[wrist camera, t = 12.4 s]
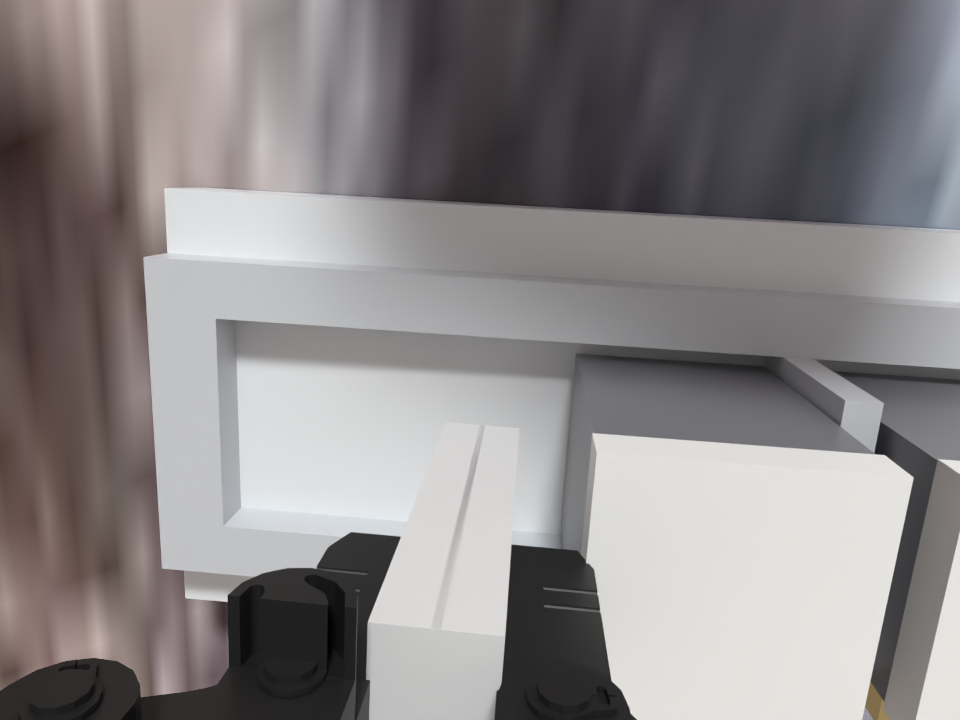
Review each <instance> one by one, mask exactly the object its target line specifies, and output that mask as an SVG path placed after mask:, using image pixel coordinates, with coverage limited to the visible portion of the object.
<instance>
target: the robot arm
mask: <svg viewBox="0 0 960 720" xmlns="http://www.w3.org/2000/svg"><path fill="white" fill-rule="evenodd" d="M518 441H519V428H510V427H498V426H485V425H474V424H462V423H450V422H446V424H445V426H444V429H443V431H442V434H441V436H440V439H439V442H438V444H437V447H436V449H435V452H434V454H433V457H432V459H431V462H430V465H429V467H428V470H427V472H426V475H425V477H424V480H423V482H422V485H421V487H420V490H419V493H418V495H417V498H416V500H415V503H414V505H413V508H412V510H411V513H410V516H409V518H408V521H407V523H406V526H405V528H404V531H403V533H402V536H401V537H400V536H389V535H379V534H368V533H357V532H350V533H349V534H347V535H346V536H344V537H343V538H341V539H340V540H338V541H336V542H335V543H333V544H332V545H330V546H329V547H328V548H327V550H326V551H325V553H324V555H323V556H322V558H321V560H320V562H319V563H318V565H317V568H316V569H315V568H286V569H281V570H276V571H271V572H266V573H262V574H260V575H258V576H256V577H253V578H251V579H249V580H247V581H244V582H242V583H241V584H240V585H239V586H238V587H236V588H235V589H234V590H233V591H232V592H231V593H229V594H228V595H227V596H228V638H229V668H228V669H227V671H226V672H225V674H224V675H223V677H222V679H221V680H220V682H219V683H218V685H215V686H212V687H209V688H204V689H199V690H194V691H189V692H181V693H173V694H165V695H157V696H149V697H141V696H140V684H139V682H138V680H137V677H136V675H135V673H134V671H133V670H132V669H130V668H128V667H126V666H125V665H123V664H121V663H119V662H118V661H111V660H104V659H97V658H90V659H81V660H72V661H65V662H62V663H58V664H55V665H52V666H49V667H45V668H42V669H39V670H36V671H34V672H32V673H31V674H29V675H27V676H25V677H23V678H21V679H19V680H18V681H16V682H14V683H12V684H10V685H8V686H7V687H6V688H4V689H3V690H1V691H0V720H637V719H636V718H635V717H634V716H633V715H632V714H631V713H630V708H629V706H628V704H627V702H626V699H625V697H624V695H623V693H622V691H621V690H620V689H619V688H618V687H617V686H616V685H615V684H614V683H613V682H612V681H611V675H610V668H609V662H608V655H607V649H606V642H605V636H604V630H603V623H602V617H601V613H600V604H599V598H598V595H597V585H596V578H595V572H594V569H593V568H592V567H591V565H590V564H588V563H586V560H585V559H584V557H583V556H582V555H581V554H580V553H579V552H578V551H577V550H566V549H556V548H545V547H534V546H523V545H512V529H513V515H514V500H515V485H516V470H517V455H518Z"/></svg>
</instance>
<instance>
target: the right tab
mask: <svg viewBox="0 0 960 720" xmlns="http://www.w3.org/2000/svg"><path fill="white" fill-rule="evenodd" d="M833 372H835V373H836V374H838V375H840V376H841V377H843V378H844V379H846V380H848V381H849V382H851V383H852V384H854V385H856V386H857V387H859V388H860V389H862V390H864V391H865V392H867V393H868V394H870V395H872V396H873V397H875V398H876V399H878V400H880V401H881V402H883V403H884V406H883V411H882V416H881V421H880V426H879V431H878V436H877V441H876V447H875V452H874V453H875V454H876V455H885V456H887V457H888V458H889V459H890V460H892V461H893V462H894V463H896V464H897V465H898V466H899V467H901V468H902V469H903V470H905V471H906V472H907V473H909V474H910V475H911V476H912V477H914V479H913V483H912V488H911V493H910V498H909V502H908V507H907V512H906V516H905V521H904V526H903V530H902V535H901V540H900V544H899V549H898V554H897V559H896V563H895V568H894V573H893V577H892V582H891V587H890V591H889V596H888V601H887V605H886V610H885V615H884V620H883V624H882V629H881V634H880V638H879V643H878V648H877V652H876V657H875V662H874V666H873V671H872V676H871V680H870V681H871V683H872V684H873V686H874V687H875V689H876V690H877V692H878V693H879V695H880V696H881V698H882V699H883V701H884V706H883V709H884V711H885V712H886V714H887V715H888V717H889V718H890V720H960V380H955V379H941V378H926V377H912V376H897V375H882V374H868V373H853V372H839V371H833Z"/></svg>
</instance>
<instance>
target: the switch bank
mask: <svg viewBox="0 0 960 720" xmlns="http://www.w3.org/2000/svg"><path fill="white" fill-rule="evenodd" d="M164 194H165V213H166V233H167V252H168V253H164V254H159V255H153V256H148V257H144V273H145V290H146V307H147V323H148V340H149V357H150V373H151V390H152V407H153V423H154V440H155V457H156V473H157V490H158V507H159V523H160V540H161V557H162V569H173V570H184V579H185V598H190V599H201V600H212V601H222V602H228V596H227V595H228V594H229V593H231V592H232V591H233V590H234V589H235V588H236V587H238V586H239V585H240V584H241V583H242V582H244V581H247V580H249V579H251V578H253V577H256V576H258V575H260V574H262V573H266V572H271V571H276V570H281V569H286V568H315V569H316V568H317V565H318V563H319V562H320V560H321V558H322V556H323V555H324V553H325V551H326V550H327V548H328V547H329V546H330V545H332V544H333V543H335V542H336V541H338V540H340V539H341V538H343V537H344V536H346V535H347V534H349V533H350V532H357V533H368V534H379V535H389V536H400V537H401V536H402V533H403V531H404V528H405V526H406V523H407V521H408V518H409V516H410V513H411V510H412V508H413V505H414V503H415V500H416V498H417V495H418V493H419V490H420V487H421V485H422V482H423V480H424V477H425V475H426V472H427V470H428V467H429V465H430V462H431V459H432V457H433V454H434V452H435V449H436V447H437V444H438V442H439V439H440V436H441V434H442V431H443V429H444V426H445V424H446V422H450V423H462V424H474V425H485V426H498V427H510V428H519V441H518V455H517V470H516V485H515V500H514V515H513V529H512V545H523V546H534V547H545V548H556V549H563V542H562V528H561V518H562V507H563V495H564V484H565V472H566V461H567V449H568V438H569V426H570V415H571V403H572V392H573V381H574V369H575V358H576V354H591V355H605V356H620V357H634V358H649V359H664V360H678V361H693V362H707V363H722V364H736V365H751V366H765V367H766V368H767V369H768V370H770V371H771V372H772V373H773V374H775V375H776V376H777V377H778V378H780V379H781V380H782V381H784V382H785V383H786V384H787V385H789V386H790V387H791V388H792V389H794V390H795V391H796V392H797V393H799V394H800V395H801V396H802V397H804V398H805V399H806V400H808V401H809V402H810V403H811V404H813V405H814V406H815V407H816V408H818V409H819V410H820V411H821V412H823V413H824V414H825V415H826V416H828V417H829V418H830V419H832V420H833V421H834V422H835V423H837V424H838V425H839V426H840V427H842V428H843V429H844V430H845V431H847V432H848V433H849V434H850V435H852V436H853V437H854V438H856V439H857V440H858V441H859V442H861V443H862V444H863V445H864V446H866V447H867V448H868V449H869V450H871V451H872V452H873V453H874V452H875V447H876V441H877V436H878V431H879V426H880V421H881V416H882V411H883V406H884V403H883V402H881V401H880V400H878V399H876V398H875V397H873V396H872V395H870V394H868V393H867V392H865V391H864V390H862V389H860V388H859V387H857V386H856V385H854V384H852V383H851V382H849V381H848V380H846V379H844V378H843V377H841V376H840V375H838V374H836V373H835V372H833V371H839V372H853V373H868V374H882V375H897V376H912V377H926V378H941V379H955V380H960V230H948V229H931V228H913V227H895V226H877V225H859V224H842V223H824V222H806V221H788V220H770V219H752V218H735V217H717V216H699V215H681V214H663V213H645V212H628V211H610V210H592V209H574V208H556V207H538V206H521V205H503V204H485V203H467V202H449V201H431V200H414V199H396V198H378V197H360V196H342V195H324V194H307V193H289V192H271V191H253V190H235V189H217V188H164ZM883 706H884V701H883V699H882V698H881V696H880V695H879V693H878V692H877V690H876V689H875V687H874V686H873V684H872V683H871V681H870V685H869V690H868V695H867V699H866V704H865V707H866V708H867V710H868V712H869V713H870V715H871V716H872V718H873V719H874V720H890V718H889V717H888V715H887V714H886V712H885V711H884V709H883Z"/></svg>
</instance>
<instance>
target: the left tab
mask: <svg viewBox="0 0 960 720" xmlns="http://www.w3.org/2000/svg"><path fill="white" fill-rule="evenodd" d="M913 479H914V477H912V476H911V475H910V474H909V473H907V472H906V471H905V470H903V469H902V468H901V467H899V466H898V465H897V464H896V463H894V462H893V461H892V460H890V459H889V458H888V457H887V456H885V455H876V454H875V453H873V452H872V451H871V450H869V449H868V448H867V447H866V446H864V445H863V444H862V443H861V442H859V441H858V440H857V439H856V438H854V437H853V436H852V435H850V434H849V433H848V432H847V431H845V430H844V429H843V428H842V427H840V426H839V425H838V424H837V423H835V422H834V421H833V420H832V419H830V418H829V417H828V416H826V415H825V414H824V413H823V412H821V411H820V410H819V409H818V408H816V407H815V406H814V405H813V404H811V403H810V402H809V401H808V400H806V399H805V398H804V397H802V396H801V395H800V394H799V393H797V392H796V391H795V390H794V389H792V388H791V387H790V386H789V385H787V384H786V383H785V382H784V381H782V380H781V379H780V378H778V377H777V376H776V375H775V374H773V373H772V372H771V371H770V370H768V369H767V368H766V367H765V366H751V365H736V364H722V363H707V362H693V361H678V360H664V359H649V358H634V357H620V356H605V355H591V354H576V358H575V369H574V381H573V392H572V403H571V415H570V426H569V438H568V449H567V461H566V472H565V484H564V495H563V507H562V518H561V528H562V542H563V549H566V550H577V551H578V552H579V553H580V554H581V555H582V556H583V557H584V559H585V560H586V563H588V564H590V565H591V567H592V568H593V569H594V572H595V578H596V585H597V595H598V598H599V604H600V613H601V617H602V623H603V630H604V636H605V642H606V649H607V655H608V662H609V668H610V675H611V681H612V682H613V683H614V684H615V685H616V686H617V687H618V688H619V689H620V690H621V691H622V693H623V695H624V697H625V699H626V702H627V704H628V706H629V708H630V713H631V714H632V715H633V716H634V717H635V718H636V719H637V720H862V718H863V713H864V709H865V704H866V699H867V695H868V690H869V685H870V680H871V676H872V671H873V666H874V662H875V657H876V652H877V648H878V643H879V638H880V634H881V629H882V624H883V620H884V615H885V610H886V605H887V601H888V596H889V591H890V587H891V582H892V577H893V573H894V568H895V563H896V559H897V554H898V549H899V544H900V540H901V535H902V530H903V526H904V521H905V516H906V512H907V507H908V502H909V498H910V493H911V488H912V483H913Z"/></svg>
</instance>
